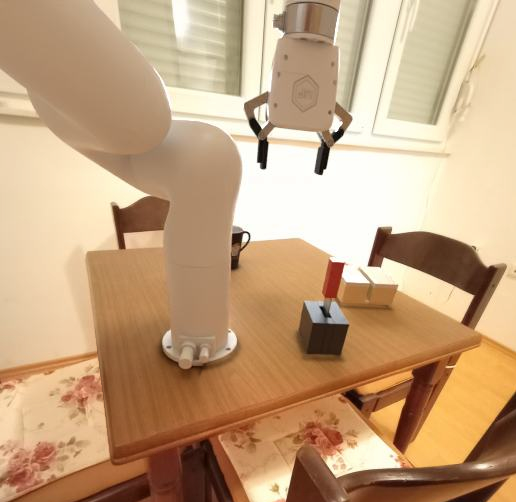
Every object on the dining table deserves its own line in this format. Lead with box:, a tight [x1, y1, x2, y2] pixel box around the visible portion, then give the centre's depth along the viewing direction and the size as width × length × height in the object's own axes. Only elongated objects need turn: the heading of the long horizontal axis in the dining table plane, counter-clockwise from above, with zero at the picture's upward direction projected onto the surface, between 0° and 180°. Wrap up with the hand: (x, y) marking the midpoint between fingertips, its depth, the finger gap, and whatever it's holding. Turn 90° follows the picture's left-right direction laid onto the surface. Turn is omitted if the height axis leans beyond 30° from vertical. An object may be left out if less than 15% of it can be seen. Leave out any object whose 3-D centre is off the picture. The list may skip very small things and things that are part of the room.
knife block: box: [298, 300, 350, 356], centre depth 55 cm, size 8×6×7 cm
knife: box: [321, 257, 346, 318], centre depth 52 cm, size 3×2×15 cm, turn 3°
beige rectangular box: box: [337, 264, 399, 309], centre depth 75 cm, size 11×12×6 cm
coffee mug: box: [231, 224, 252, 271], centre depth 85 cm, size 12×9×10 cm
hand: (290, 171), depth 53 cm, fingers open, 9 cm apart
